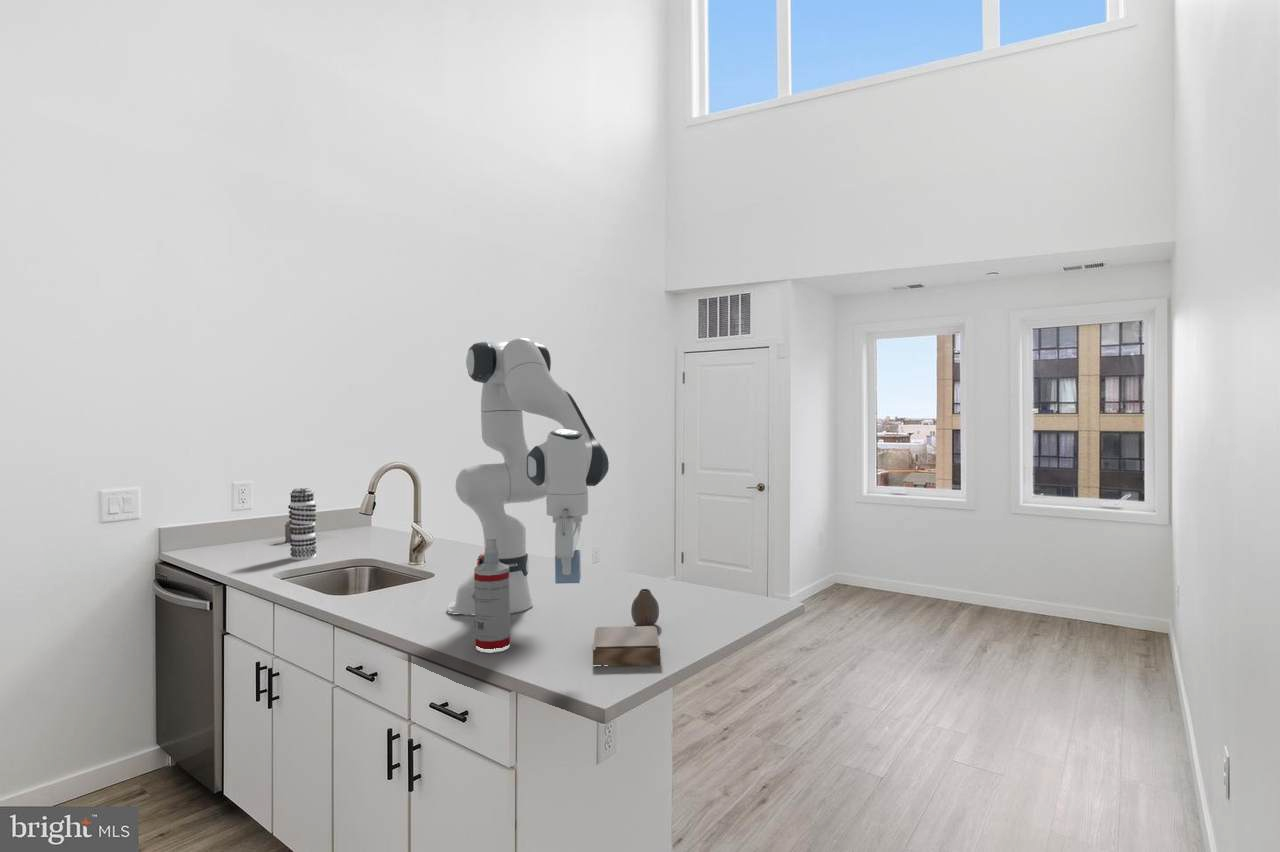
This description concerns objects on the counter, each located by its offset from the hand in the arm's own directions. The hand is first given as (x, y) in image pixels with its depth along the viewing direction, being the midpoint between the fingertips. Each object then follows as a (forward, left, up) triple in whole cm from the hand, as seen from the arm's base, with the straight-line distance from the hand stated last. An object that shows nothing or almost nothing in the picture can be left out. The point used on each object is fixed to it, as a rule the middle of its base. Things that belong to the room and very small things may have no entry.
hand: (568, 570), depth 150 cm
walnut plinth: (+12, +3, -19) cm, 23 cm away
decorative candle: (-104, +109, -19) cm, 151 cm away
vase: (+17, +23, -20) cm, 34 cm away
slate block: (0, 0, -2) cm, 2 cm away
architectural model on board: (-120, +142, -20) cm, 187 cm away
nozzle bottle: (-18, +9, -19) cm, 28 cm away
